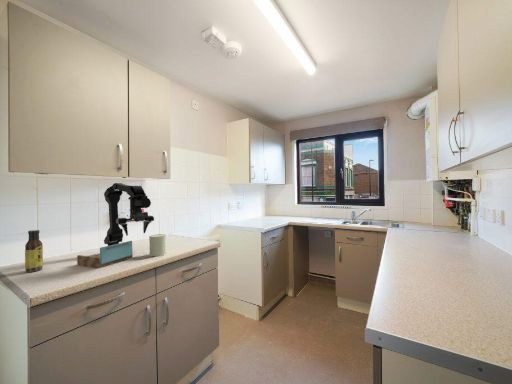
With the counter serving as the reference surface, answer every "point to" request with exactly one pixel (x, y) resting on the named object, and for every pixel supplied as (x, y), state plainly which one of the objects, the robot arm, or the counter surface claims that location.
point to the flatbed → (97, 261)
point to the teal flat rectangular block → (115, 252)
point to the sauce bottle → (33, 252)
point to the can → (157, 245)
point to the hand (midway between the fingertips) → (135, 234)
